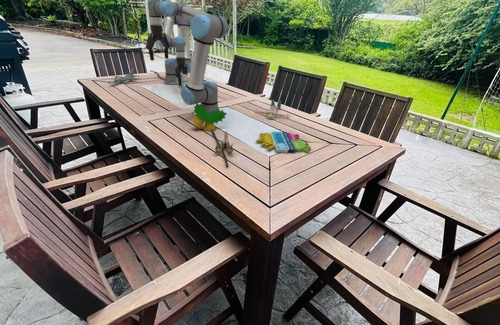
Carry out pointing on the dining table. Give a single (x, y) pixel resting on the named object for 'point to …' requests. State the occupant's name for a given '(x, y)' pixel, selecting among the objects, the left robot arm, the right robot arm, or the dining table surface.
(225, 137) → the jawbone
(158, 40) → the left robot arm
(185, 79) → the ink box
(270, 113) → the toy
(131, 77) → the airplane
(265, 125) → the dining table surface
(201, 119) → the ornament
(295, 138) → the colourful gloves pack
